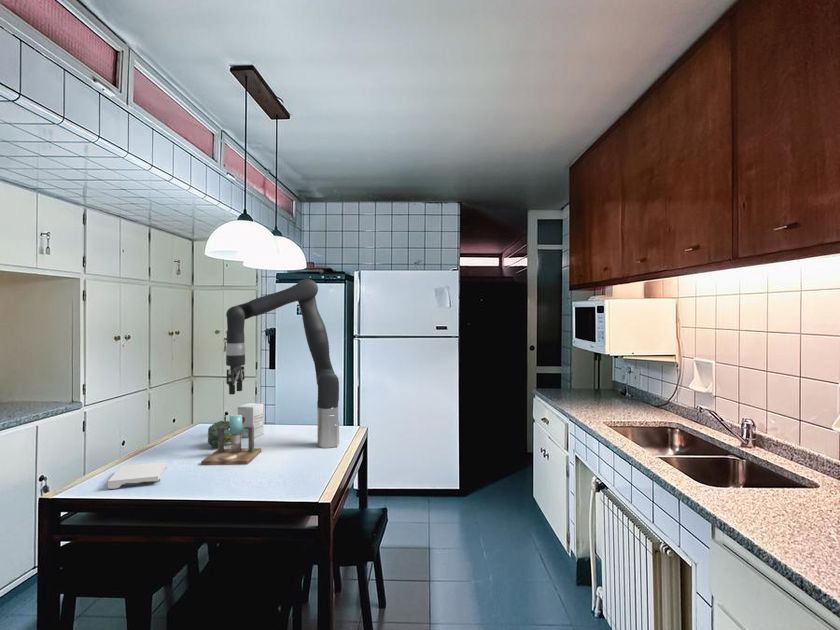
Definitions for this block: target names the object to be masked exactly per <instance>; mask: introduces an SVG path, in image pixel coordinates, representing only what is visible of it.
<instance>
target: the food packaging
mask: <svg viewBox="0 0 840 630" xmlns="http://www.w3.org/2000/svg"><path fill="white" fill-rule="evenodd" d="M166 469H167V461H164V462H151V463H149V462H148V463H140V464H128V465H121V466H120V467H119V468H118V469H117V470H116V471H115V473H114V474H113V475H112V476H111V477H110V478H109V479H108V481H107V489H111V490H113V489H119V488H120V487H121V486H135V484H137V485H139V483H140V484H154V483H155V482H156V483H157V482H160V481H161V479H162V477H163V475H164V474H165V472H166Z"/></svg>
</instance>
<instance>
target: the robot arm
mask: <svg viewBox="0 0 840 630" xmlns="http://www.w3.org/2000/svg"><path fill="white" fill-rule="evenodd" d="M318 292H319V287H318V284H317V283H316V282H315V281H314V280H313V279H310V278H305V279H301V280H299V281H298V282H297V283H296V284H294V285H292V286H291V287H288V288H285V289H283V290H280V291H277V292H273V293H269V294H266V295H263V296H260V297H256V298H254V299H251V300H249V301H248V302H245V303H241V304H238V305H234V306H231V307H230V308H228V309H227V310H226V314H225V316H226V320H227V321H226V326H227V329H226V330H227V331H226V347H225V365H226V366H228V367H229V369H226V385H227V386H228V394H229V395H235V394H236V392H242V391H243V382H244V381H245V364H246V346H245V345H246V344H245V320H247V319H250V318H253V317H257V316H261V315H264V314H267V313H269V312H272V311H274V310H276V309H279V308H281V307H283V306H286V305H288V304H291V303H295V302H298V303H297V304H298V306H299V308H300V311H301V316H302V323H303V329H304V334H305V338H306V341H307V345H308V349H309V352H310V355H311V358H312V360H313V364H314V368H315V369H314V370H315V377H316V386H317V403H316V404H317V408H316V409H317V412H316V413H317V415H316V416H317V418H316V419H317V421H316V422H317V430H316V431H317V447H318V448H324V449H328V448H337V447H338V446H339V445H340V421H339V399H340V381H339V380H340V379H339V378H338V376H337V374H336V373H335V371H334V368H333V365H332V362H331V356H330V355H331V354H330V343H329V337H328V332H327V329H326V326H325V323H324V320H323V318H322V317H321V313H320V312H319V309H318V305H317V300H316V296H317V294H318Z"/></svg>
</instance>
